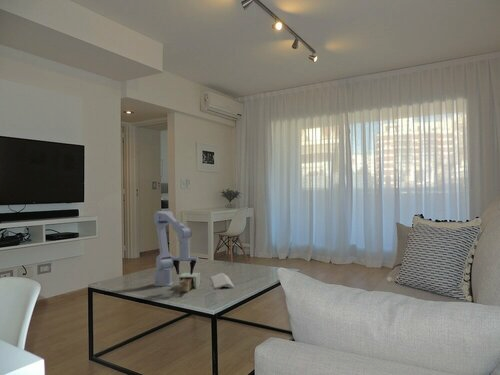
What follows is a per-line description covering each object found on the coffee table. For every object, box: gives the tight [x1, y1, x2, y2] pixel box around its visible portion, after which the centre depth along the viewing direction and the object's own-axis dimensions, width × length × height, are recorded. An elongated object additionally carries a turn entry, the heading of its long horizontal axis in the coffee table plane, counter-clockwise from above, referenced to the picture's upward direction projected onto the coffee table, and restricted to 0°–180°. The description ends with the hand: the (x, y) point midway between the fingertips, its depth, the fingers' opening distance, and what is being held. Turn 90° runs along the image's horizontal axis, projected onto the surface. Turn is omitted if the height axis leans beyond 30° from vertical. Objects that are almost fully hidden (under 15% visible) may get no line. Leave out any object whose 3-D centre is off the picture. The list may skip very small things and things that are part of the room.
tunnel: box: [178, 272, 201, 289], centre depth 207 cm, size 10×10×7 cm
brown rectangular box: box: [178, 278, 194, 293], centre depth 200 cm, size 5×12×5 cm, turn 175°
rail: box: [175, 291, 187, 298], centre depth 199 cm, size 3×30×1 cm, turn 175°
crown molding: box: [209, 272, 236, 290], centre depth 215 cm, size 29×12×4 cm, turn 11°
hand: (184, 274), depth 197 cm, fingers open, 7 cm apart
